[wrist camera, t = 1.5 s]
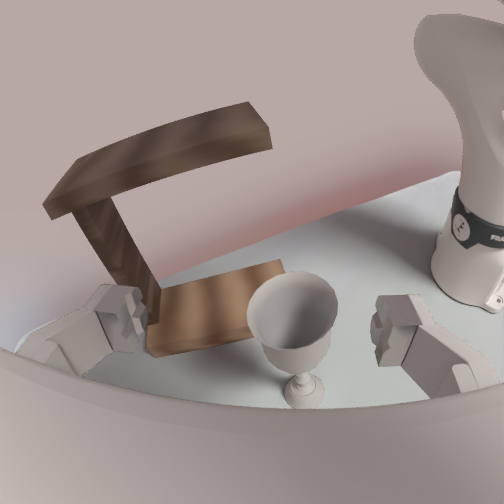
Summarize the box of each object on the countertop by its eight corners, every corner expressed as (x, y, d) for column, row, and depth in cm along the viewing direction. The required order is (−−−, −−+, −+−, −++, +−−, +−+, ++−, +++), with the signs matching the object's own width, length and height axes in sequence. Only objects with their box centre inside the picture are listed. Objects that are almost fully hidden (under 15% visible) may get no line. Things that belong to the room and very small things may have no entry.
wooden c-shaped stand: (282, 271, 49) (248, 101, 31) (300, 325, 41) (268, 127, 23) (157, 303, 50) (77, 159, 31) (155, 357, 41) (42, 204, 23)
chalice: (286, 361, 37) (264, 267, 25) (337, 370, 35) (344, 276, 23) (269, 411, 33) (232, 340, 21) (323, 423, 30) (327, 358, 18)
